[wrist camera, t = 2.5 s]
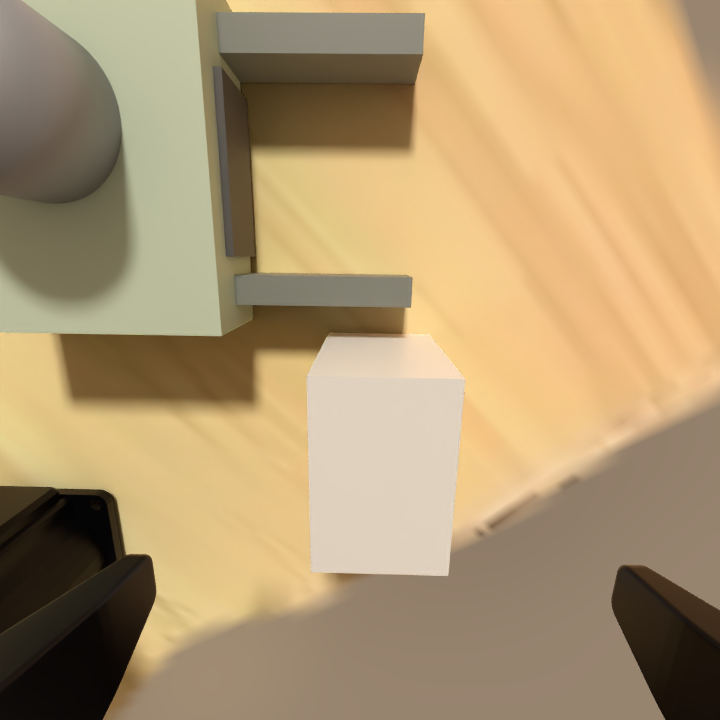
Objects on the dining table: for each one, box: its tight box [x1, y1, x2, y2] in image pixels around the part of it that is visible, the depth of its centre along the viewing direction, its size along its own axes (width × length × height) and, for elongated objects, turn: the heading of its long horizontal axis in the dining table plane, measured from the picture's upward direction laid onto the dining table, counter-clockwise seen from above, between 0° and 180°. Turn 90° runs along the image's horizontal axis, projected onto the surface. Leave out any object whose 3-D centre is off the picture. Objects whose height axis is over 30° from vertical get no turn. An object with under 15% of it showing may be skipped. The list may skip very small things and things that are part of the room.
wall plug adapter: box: [0, 0, 425, 336], centre depth 11 cm, size 10×14×6 cm
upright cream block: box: [307, 333, 465, 576], centre depth 13 cm, size 4×6×6 cm, turn 179°
